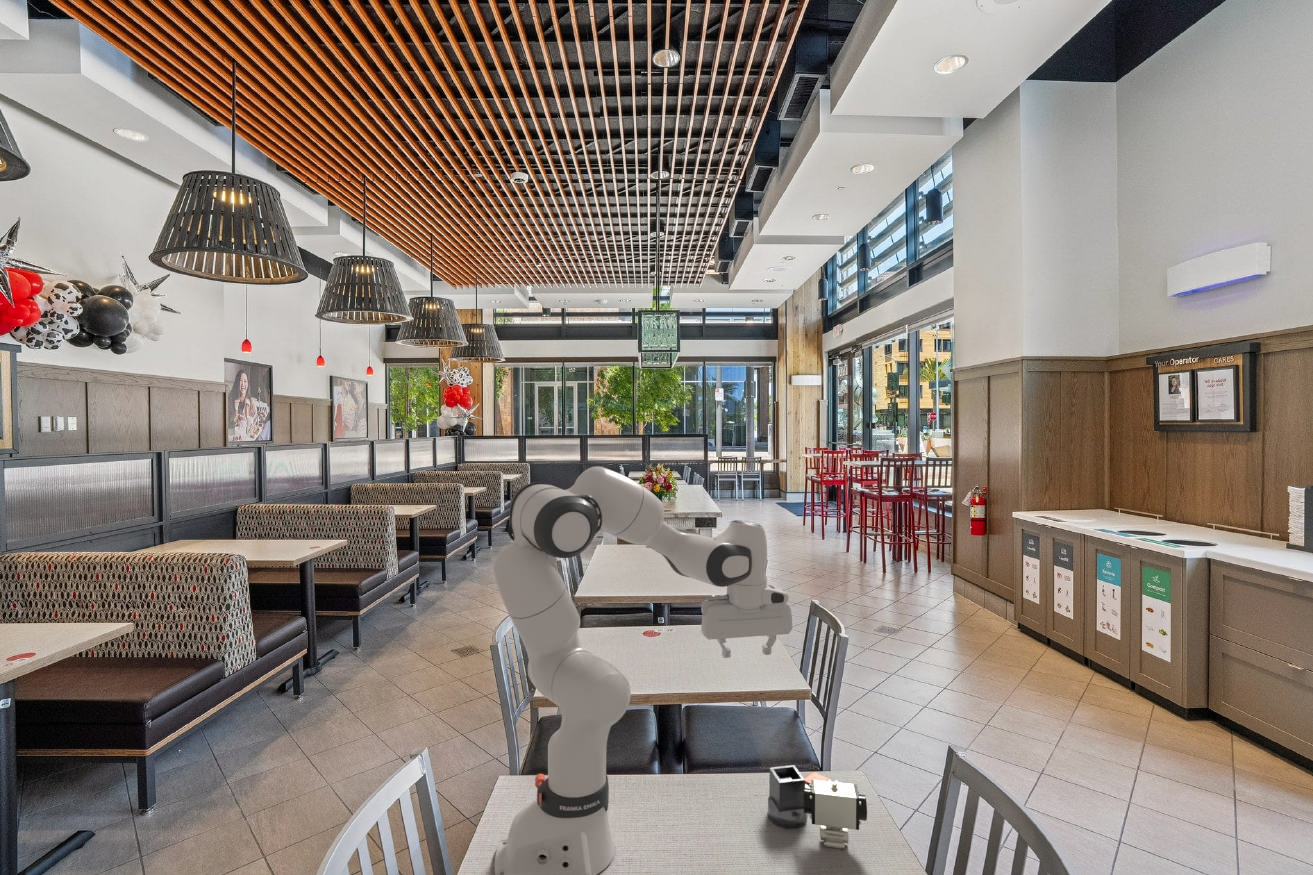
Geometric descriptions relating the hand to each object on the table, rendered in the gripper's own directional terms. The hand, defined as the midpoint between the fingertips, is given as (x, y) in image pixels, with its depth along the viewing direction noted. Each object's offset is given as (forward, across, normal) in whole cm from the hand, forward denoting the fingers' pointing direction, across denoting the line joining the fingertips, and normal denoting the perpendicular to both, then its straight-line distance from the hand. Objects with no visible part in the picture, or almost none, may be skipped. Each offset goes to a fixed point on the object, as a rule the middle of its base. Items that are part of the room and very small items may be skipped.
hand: (746, 655), depth 135 cm
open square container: (+28, +6, -9) cm, 30 cm away
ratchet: (+31, +10, -6) cm, 33 cm away
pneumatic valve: (+31, +12, -18) cm, 38 cm away
